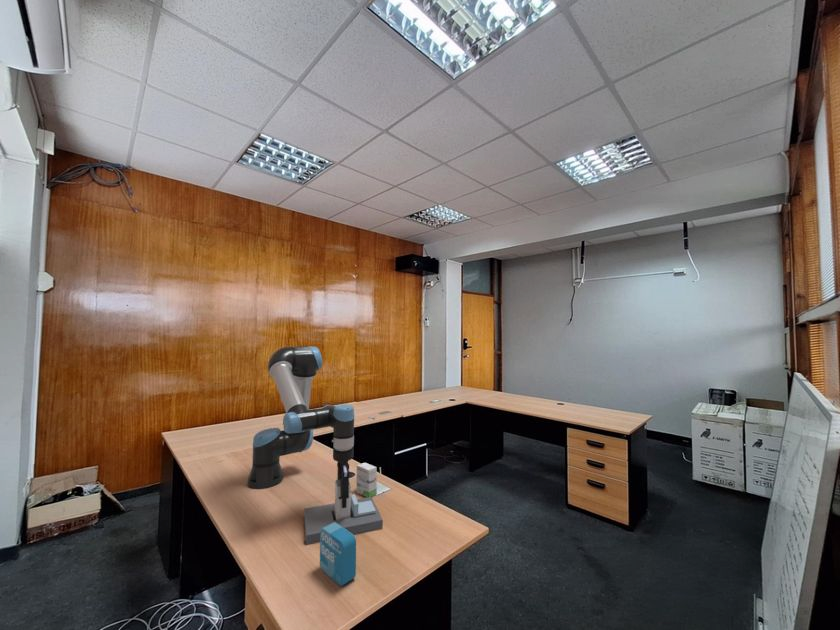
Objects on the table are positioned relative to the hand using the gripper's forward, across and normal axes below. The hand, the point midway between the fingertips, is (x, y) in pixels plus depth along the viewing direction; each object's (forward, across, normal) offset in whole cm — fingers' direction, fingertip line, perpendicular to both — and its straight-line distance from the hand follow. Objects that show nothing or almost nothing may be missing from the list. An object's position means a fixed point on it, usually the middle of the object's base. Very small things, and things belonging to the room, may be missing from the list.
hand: (342, 511), depth 123 cm
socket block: (+4, 0, 0) cm, 4 cm away
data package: (+4, +26, -5) cm, 27 cm away
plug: (+2, 0, 0) cm, 2 cm away
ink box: (+4, -19, +13) cm, 23 cm away
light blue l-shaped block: (+1, 0, +8) cm, 8 cm away
